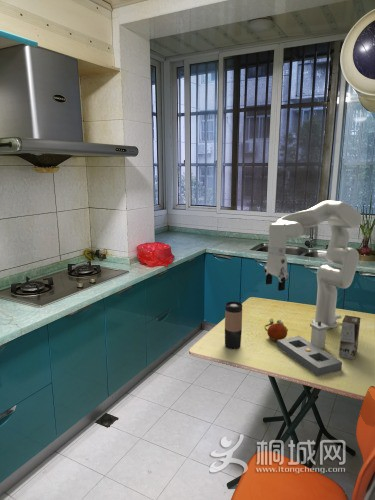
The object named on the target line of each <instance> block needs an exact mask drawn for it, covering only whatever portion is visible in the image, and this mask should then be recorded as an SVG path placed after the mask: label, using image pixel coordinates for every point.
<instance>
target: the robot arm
mask: <svg viewBox="0 0 375 500" xmlns="http://www.w3.org/2000/svg"><path fill="white" fill-rule="evenodd" d="M362 217H363V216H362V214H361V213H360V212H359V211H358V210H357V209H356V208H354V207H353V206H351V205H349V203H347V202H344V201H339V200H324V201H321V202H319V203H318V204H315V205H314V206H312V207H310V208H308V209H306V210H305V209H304V210H301V211H296V212H293V213H289V214H287V215H284V216H282V217H281V218H278V219H276V221H275V222H272V223H270V224H269V227H268V245H267V246H268V249H267V250H268V251H267V257H266V264H264V265H263V268H264V273H265V275H264V276H265V285H272V284H273V276H274V277H277V279H278V283H277V291H279V292H280V291H285V290H286V283H287V280H288V278H289V276H290V274H289V273H288V259H287V254H286V248H287V239H289V240H290V239H291V240H292V239H295V240H296V239H299V238H300V237H302V235H303V234H304V231H305V230H304V228H313V227H317V226H318V225H320V224H322V223H323V222H326V221H327V222H328V225H329V226H330V231H331V235H330V239H329V243H328V245H327V249H326V252H325V258H326V259H325V260H326V261H327V262H329V263H333V264H336V265H339V266H341V267H338V266H335V265H331V264H322V265H320V266H319V267H318V269H317V271H316V281H317V282H316V283H317V291H316V292H317V294H316V305H315V307H316V308H315V317H314V318H312V319H311V323H316V322H318V321H321V323H323V324H325V325H327V326H329V329H335V328H338V322H337V320H340V319H342V315H340V314H337V315H336V312H337V311H336V309H337V300H338V298H337V297H338V289H337V288H339V289H348V288H349V287H350V286H351V285H352V283H353V281H354V277H355V274H356V271H357V267H358V265H359V261H360V254H359V251H358V250H357V249H356V248H354V247H349V246H348V244H349V241H350V234H349V233H350V232H349V231H348V230H349V229H356V228H359V227H360V226H361V224H362V221H363V218H362Z"/></svg>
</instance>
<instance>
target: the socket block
mask: <svg viewBox="0 0 375 500" xmlns="http://www.w3.org/2000/svg"><path fill="white" fill-rule="evenodd" d="M276 342H277V345H276V346H277V348H278V349H279V350H280V351H281V352H283V353H285V355H288V356H289V357H290V358H291V359H294V360H295V361H296V362H298V363H299V365H301V366H302V367H305V368H306V369H308V370H309V371H310V372H311V373H313V374H314V375H316V376H317V377H320V376H325V375H328V374H331V372H332V373H335V371H336V372H338V371H342V368H343V367H342V366H343V361H341V360H340V359H338V358H337V357H335V356H333V355H331V354H330V353H329V352H327V351H325V350H323V348H319V347H317V346H315V345H314V344H312V343H311V341H309V340H307V339H305V338H304V337H302V336H301V335H296V336H290V337H285V338H284V339H280V340H278V341H276Z"/></svg>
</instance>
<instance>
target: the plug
mask: <svg viewBox="0 0 375 500" xmlns="http://www.w3.org/2000/svg"><path fill="white" fill-rule="evenodd" d="M309 326H310V327H311V335H310V343H312V344H314V345H315V346H317V347H319V348H320V349H324V348H325V347H326V339H327V337H326V336H327V330H329V329H330V328H329V326H327V325H325V324H323V323H321V321H318V322H316V323H312V322H311V323H310V324H309Z"/></svg>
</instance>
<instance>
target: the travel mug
mask: <svg viewBox="0 0 375 500" xmlns="http://www.w3.org/2000/svg"><path fill="white" fill-rule="evenodd" d="M224 311H225V313H224V315H225V316H224V346H225V348H226V349H229V350H239V349H240V348H241V347H242V346H241V343H242V334H243V333H242V330H243V329H242V328H243V304H242V303H241V302H238V301H228V302H226V303H225V309H224Z"/></svg>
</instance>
